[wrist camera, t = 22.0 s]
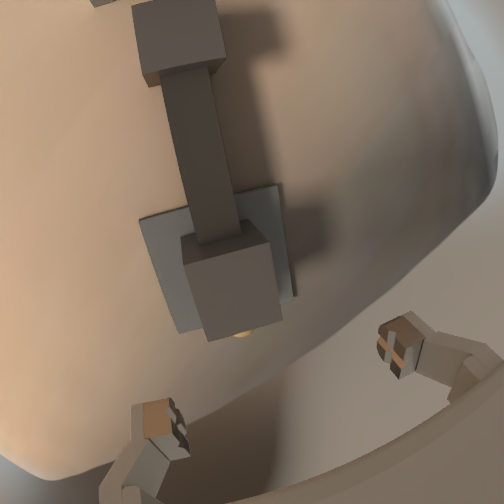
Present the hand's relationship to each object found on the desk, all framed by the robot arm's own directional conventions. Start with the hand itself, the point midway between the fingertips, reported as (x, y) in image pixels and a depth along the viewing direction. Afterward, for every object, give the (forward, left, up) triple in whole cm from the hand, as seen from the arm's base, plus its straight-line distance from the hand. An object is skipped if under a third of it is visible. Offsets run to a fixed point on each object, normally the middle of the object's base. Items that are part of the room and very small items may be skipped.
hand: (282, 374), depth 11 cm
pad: (+1, 0, -12) cm, 12 cm away
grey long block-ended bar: (-5, 0, -11) cm, 13 cm away
